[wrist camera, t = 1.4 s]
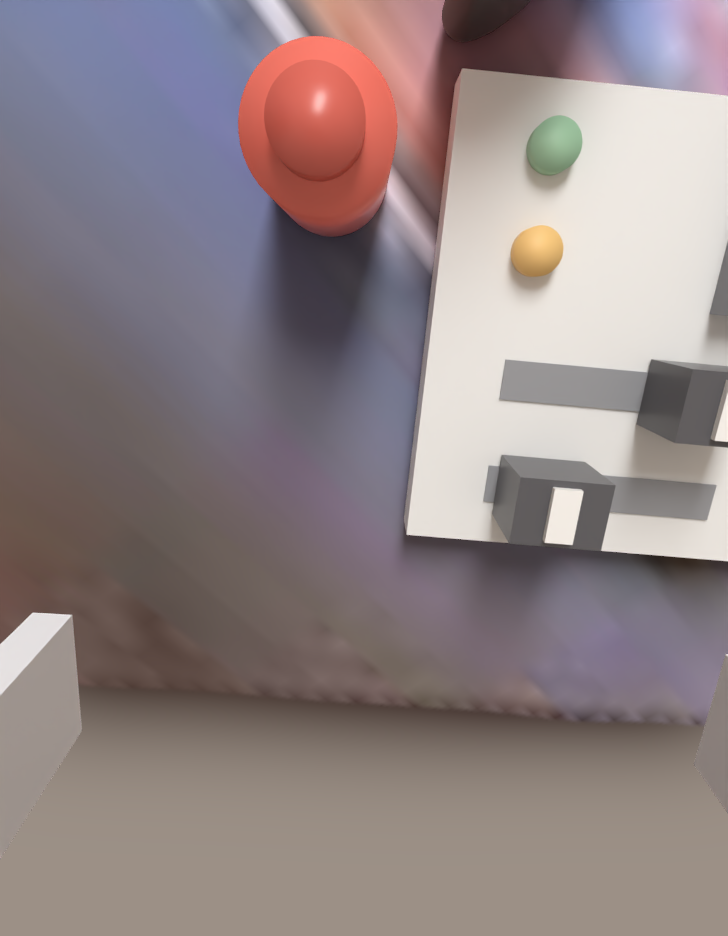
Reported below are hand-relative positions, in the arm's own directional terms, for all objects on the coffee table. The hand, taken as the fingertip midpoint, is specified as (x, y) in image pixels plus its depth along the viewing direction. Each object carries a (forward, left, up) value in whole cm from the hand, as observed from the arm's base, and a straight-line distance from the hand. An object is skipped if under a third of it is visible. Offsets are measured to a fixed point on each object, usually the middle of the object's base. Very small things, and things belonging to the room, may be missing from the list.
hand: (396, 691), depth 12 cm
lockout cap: (-3, +12, -19) cm, 23 cm away
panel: (+13, +6, -19) cm, 23 cm away
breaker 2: (+14, +4, -17) cm, 22 cm away
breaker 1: (+8, -1, -17) cm, 18 cm away
